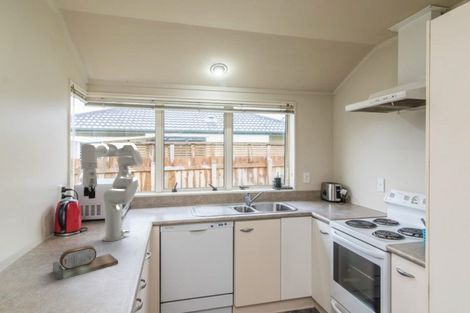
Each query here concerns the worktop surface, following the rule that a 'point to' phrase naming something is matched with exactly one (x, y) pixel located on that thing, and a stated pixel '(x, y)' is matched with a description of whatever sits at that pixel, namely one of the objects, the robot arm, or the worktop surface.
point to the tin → (78, 257)
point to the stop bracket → (58, 270)
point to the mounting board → (91, 266)
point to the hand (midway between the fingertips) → (89, 197)
